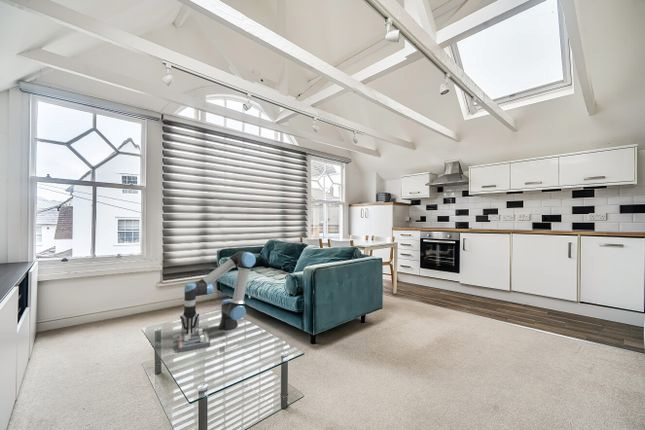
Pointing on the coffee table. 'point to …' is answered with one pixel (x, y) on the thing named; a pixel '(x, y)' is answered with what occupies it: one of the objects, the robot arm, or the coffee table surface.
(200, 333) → the handle
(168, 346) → the coffee table surface
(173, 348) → the coffee table surface
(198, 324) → the circuit breaker
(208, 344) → the breaker board
